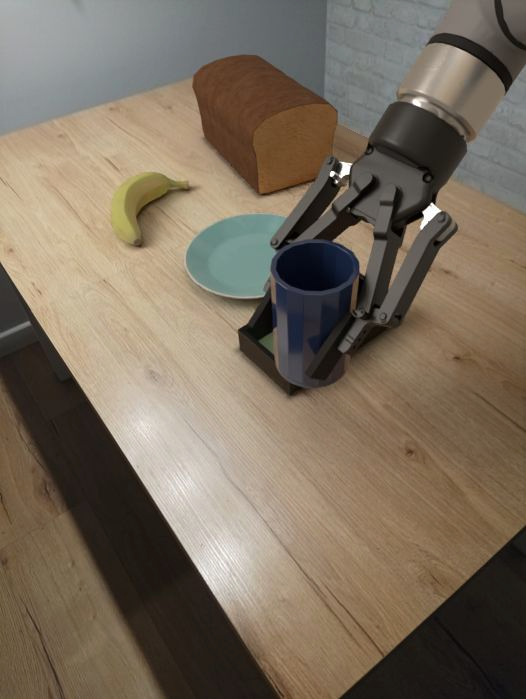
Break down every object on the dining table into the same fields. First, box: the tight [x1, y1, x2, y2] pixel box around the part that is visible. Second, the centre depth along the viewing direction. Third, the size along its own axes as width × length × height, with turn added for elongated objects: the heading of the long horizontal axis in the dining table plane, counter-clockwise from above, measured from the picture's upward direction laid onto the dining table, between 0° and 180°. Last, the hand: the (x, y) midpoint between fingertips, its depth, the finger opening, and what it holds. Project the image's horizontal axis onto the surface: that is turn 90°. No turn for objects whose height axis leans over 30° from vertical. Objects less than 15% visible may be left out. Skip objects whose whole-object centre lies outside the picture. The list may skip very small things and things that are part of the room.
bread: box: [191, 54, 339, 195], centre depth 103 cm, size 18×30×16 cm, turn 26°
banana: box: [110, 171, 190, 247], centre depth 95 cm, size 14×6×20 cm
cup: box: [270, 239, 361, 389], centre depth 48 cm, size 7×7×12 cm
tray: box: [237, 272, 390, 397], centre depth 71 cm, size 11×20×4 cm, turn 129°
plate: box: [183, 212, 289, 300], centre depth 83 cm, size 22×22×3 cm
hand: (285, 351), depth 48 cm, fingers closed on cup, 7 cm apart
